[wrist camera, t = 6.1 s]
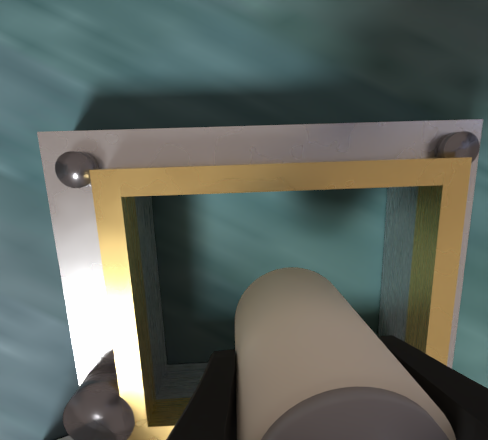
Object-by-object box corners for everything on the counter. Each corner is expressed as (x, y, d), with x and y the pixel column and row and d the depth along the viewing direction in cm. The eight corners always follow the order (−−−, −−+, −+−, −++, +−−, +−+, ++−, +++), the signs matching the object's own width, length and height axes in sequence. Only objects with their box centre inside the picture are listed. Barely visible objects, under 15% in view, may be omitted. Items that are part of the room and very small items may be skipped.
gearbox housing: (441, 125, 15) (517, 113, 11) (415, 387, 18) (467, 452, 14) (70, 136, 14) (9, 128, 10) (109, 406, 17) (73, 479, 13)
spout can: (347, 266, 10) (552, 440, 4) (342, 368, 11) (508, 669, 4) (233, 268, 10) (238, 455, 4) (235, 372, 11) (241, 689, 4)
